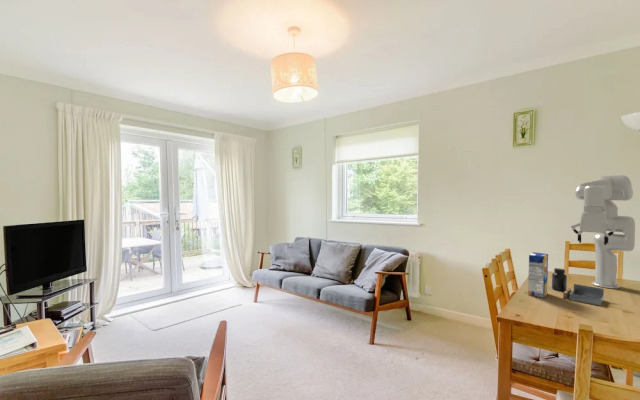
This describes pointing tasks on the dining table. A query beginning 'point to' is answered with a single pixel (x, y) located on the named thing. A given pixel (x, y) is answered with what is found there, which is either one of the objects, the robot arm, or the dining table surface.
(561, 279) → the supplement bottle
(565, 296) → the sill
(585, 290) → the keeper
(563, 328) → the dining table surface
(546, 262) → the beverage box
